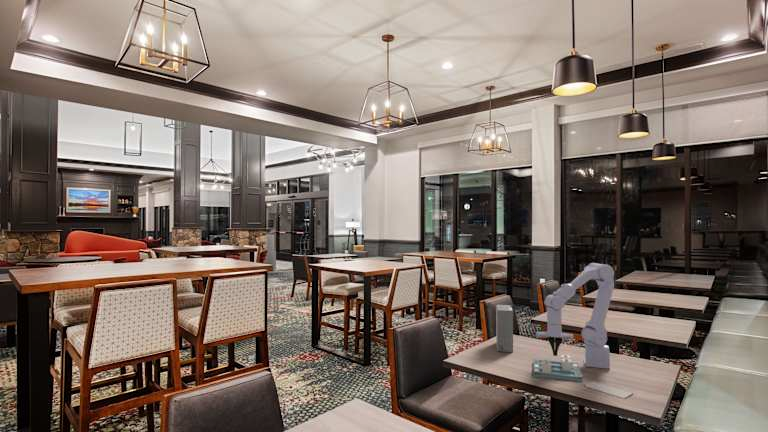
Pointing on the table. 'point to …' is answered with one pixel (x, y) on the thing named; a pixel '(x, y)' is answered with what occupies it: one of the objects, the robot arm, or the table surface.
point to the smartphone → (608, 390)
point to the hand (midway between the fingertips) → (555, 355)
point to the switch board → (557, 371)
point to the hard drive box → (504, 328)
